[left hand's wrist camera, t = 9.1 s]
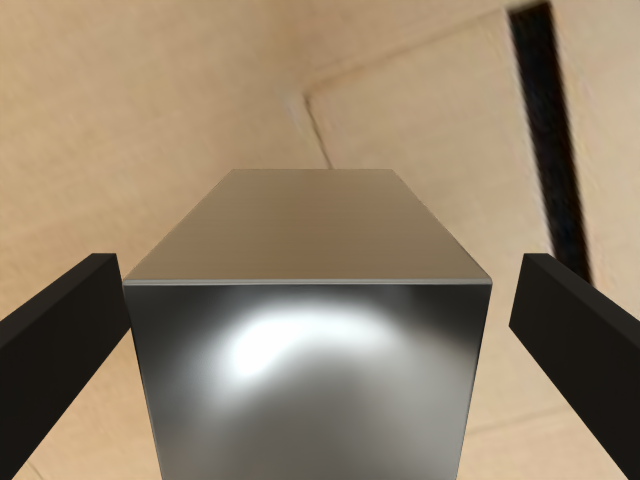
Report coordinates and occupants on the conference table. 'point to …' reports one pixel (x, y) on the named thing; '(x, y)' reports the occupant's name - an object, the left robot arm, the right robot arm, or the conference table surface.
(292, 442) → the bar
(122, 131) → the conference table surface
